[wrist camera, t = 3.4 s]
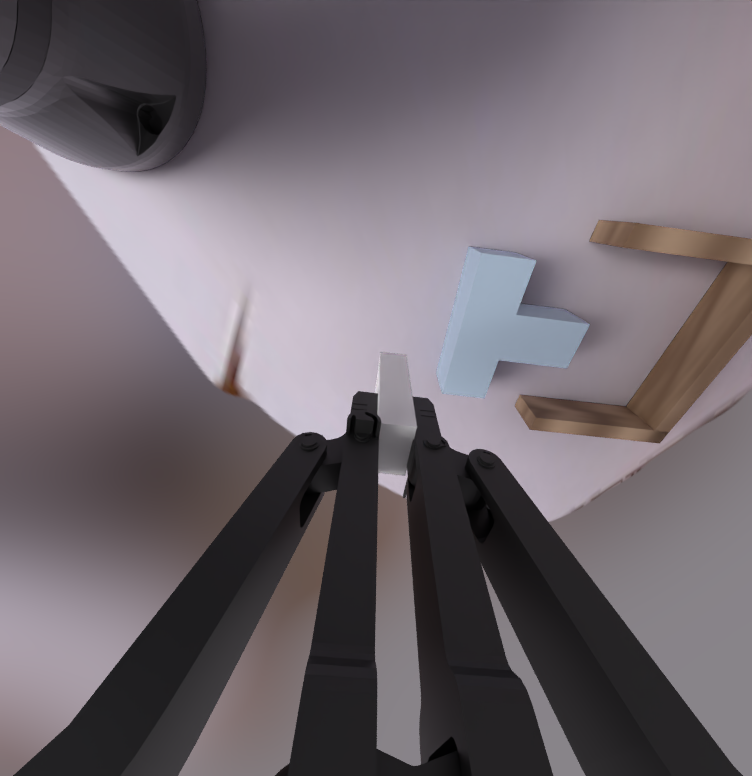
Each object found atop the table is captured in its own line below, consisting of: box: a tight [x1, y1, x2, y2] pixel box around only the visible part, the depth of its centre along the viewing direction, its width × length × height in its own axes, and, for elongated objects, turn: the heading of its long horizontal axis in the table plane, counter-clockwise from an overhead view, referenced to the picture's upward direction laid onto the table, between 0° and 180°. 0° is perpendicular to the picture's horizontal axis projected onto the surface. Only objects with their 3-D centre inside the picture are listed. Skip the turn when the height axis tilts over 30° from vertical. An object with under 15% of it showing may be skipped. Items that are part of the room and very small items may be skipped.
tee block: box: [436, 246, 590, 398], centre depth 26 cm, size 10×12×4 cm
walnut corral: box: [515, 220, 752, 443], centre depth 26 cm, size 14×18×4 cm
